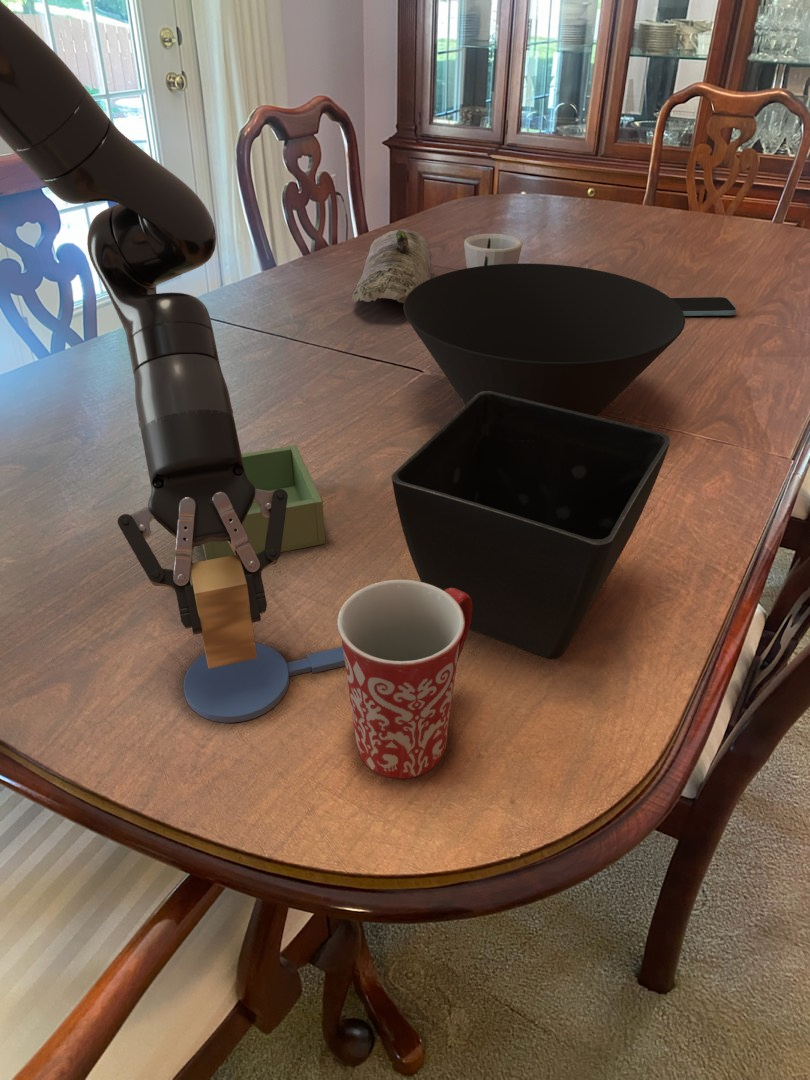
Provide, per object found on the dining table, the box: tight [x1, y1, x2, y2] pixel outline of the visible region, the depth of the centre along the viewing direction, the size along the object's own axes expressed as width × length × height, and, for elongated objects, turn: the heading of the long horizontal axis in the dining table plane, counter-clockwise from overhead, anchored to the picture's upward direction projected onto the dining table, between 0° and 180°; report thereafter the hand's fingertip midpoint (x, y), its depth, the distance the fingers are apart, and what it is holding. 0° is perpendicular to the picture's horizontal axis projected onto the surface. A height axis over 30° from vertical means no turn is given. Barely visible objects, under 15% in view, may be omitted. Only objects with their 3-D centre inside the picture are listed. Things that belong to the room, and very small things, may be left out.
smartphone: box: [670, 296, 738, 317], centre depth 145 cm, size 7×1×15 cm
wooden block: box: [190, 555, 257, 669], centre depth 66 cm, size 4×4×8 cm
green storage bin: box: [202, 444, 326, 560], centre depth 89 cm, size 13×13×6 cm
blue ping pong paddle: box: [183, 642, 345, 724], centre depth 72 cm, size 18×9×1 cm, turn 109°
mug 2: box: [463, 233, 523, 268], centre depth 150 cm, size 10×15×10 cm
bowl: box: [403, 262, 686, 417], centre depth 109 cm, size 36×36×15 cm
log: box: [351, 228, 432, 304], centre depth 148 cm, size 14×12×30 cm
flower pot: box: [391, 391, 672, 660], centre depth 75 cm, size 19×19×17 cm
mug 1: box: [336, 579, 472, 779], centre depth 63 cm, size 13×9×14 cm
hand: (227, 626), depth 65 cm, fingers closed on wooden block, 4 cm apart
